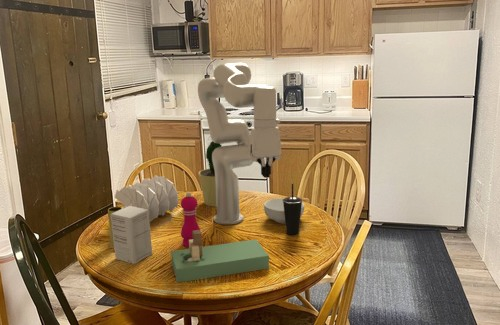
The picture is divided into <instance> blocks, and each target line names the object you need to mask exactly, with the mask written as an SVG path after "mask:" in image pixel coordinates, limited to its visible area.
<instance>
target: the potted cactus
mask: <svg viewBox="0 0 500 325" xmlns="http://www.w3.org/2000/svg"><path fill="white" fill-rule="evenodd" d="M207 145H208V146H207V148H206V151H205V153H204V155H203V157H205V160H206V159H207V160H206V162H207V163H208V164H207V165H208V166H207V167H208V168H205V169H202V170H200V171H198V178H199V182H200V187H201V191H202V197H203V203H204V205H206V206H208V207H217V204H216V182H215V170H214V165H213V160H212V153H213V151H214V150H215V149H216V148H218V147H221V146H223V144H216V143H214V142H213V140H212V141H210V142H209V143H208V144H207Z"/></svg>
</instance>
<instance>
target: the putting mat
mask: <svg viewBox="0 0 500 325" xmlns="http://www.w3.org/2000/svg"><path fill="white" fill-rule="evenodd" d="M202 253H203V256H201V257H200V260H197V261H187V260H188V259H189V258H192V256H191V253H190V250H189V248H185V249H178V250H171V251H170V259H171V266H172V270H173V273H174V276H175V279H176V280H175V281H176V284H177V283H184V282H189V281H196V280H203V279H209V278H215V277H222V276H228V275H234V274H235V275H236V274H241V273H246V272H247V273H248V272H253V271H259V270H268V269H269V268H270V255H269V254H268V253H267V251H266V250H265V249H264V247H263V246H262V245H261V243H260V242H259V241H258V240H257V239H250V240H243V241H235V242H229V243H222V244H213V245H207V246H202Z"/></svg>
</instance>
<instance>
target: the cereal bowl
mask: <svg viewBox="0 0 500 325" xmlns="http://www.w3.org/2000/svg"><path fill="white" fill-rule="evenodd" d="M284 198H285V197H284ZM284 198H283V197H282V198H273V199H269V200H266V201H265V202H264V204H263V211H264V213H265V215H266V216H267V217H268V218H269V219H270V220H272V221H275V223H279V224H285V214H284V204H283V199H284ZM304 212H305V204H304V201H303V202H302V206H301V216H300V218H301V217H302V216H303V214H304Z"/></svg>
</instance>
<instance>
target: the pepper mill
mask: <svg viewBox="0 0 500 325" xmlns="http://www.w3.org/2000/svg"><path fill="white" fill-rule="evenodd" d="M180 206H181V208H182V214H183V217H184V218H183V225H182V227H181V230H180V235H181V238H182V245H183V246H184V247H185V248H189V240H191V239H193V231H195V230H200V231H201V227H200V226H199V224H198V222H197V219H196V214H197V207H198V200H197V198H196V197H195V196H192V193H191V192H187V193H186V194H185V196H184V197H183V198H181V199H180Z"/></svg>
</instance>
